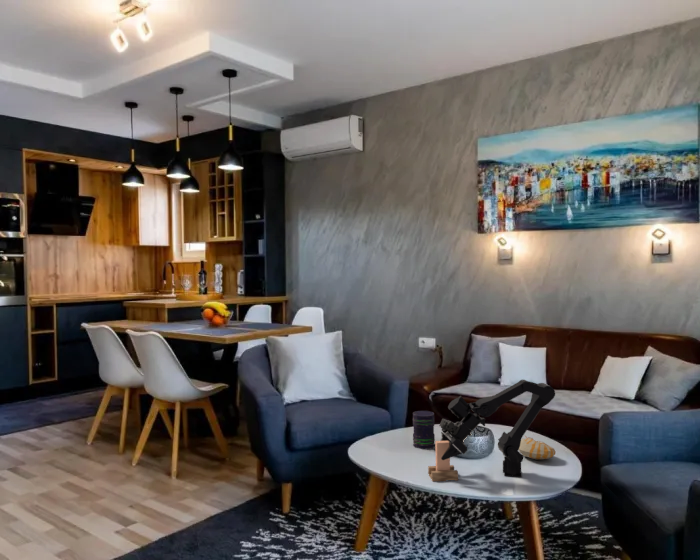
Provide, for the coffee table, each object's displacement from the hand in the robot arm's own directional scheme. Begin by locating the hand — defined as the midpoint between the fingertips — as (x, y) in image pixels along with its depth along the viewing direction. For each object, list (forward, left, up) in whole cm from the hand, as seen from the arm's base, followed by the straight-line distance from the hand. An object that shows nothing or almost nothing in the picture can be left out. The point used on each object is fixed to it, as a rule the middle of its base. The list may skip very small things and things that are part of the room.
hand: (439, 455), depth 221 cm
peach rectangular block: (-1, 0, -8) cm, 8 cm away
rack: (-1, 0, -9) cm, 9 cm away
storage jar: (+10, -38, -9) cm, 40 cm away
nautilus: (-38, -33, -9) cm, 51 cm away
